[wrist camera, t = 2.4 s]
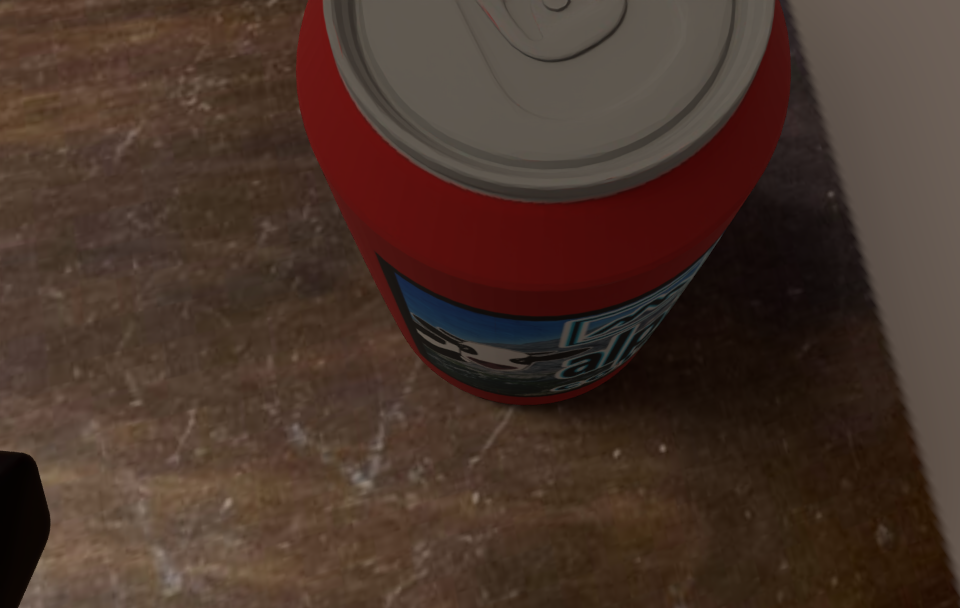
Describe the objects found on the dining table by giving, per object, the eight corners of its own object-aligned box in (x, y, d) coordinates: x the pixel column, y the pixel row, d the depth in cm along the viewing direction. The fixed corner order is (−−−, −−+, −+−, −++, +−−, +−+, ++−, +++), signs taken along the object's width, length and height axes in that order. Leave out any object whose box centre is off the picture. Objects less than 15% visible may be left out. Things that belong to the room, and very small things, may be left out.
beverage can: (486, 467, 21) (465, 370, 9) (338, 242, 22) (159, -84, 11) (716, 312, 22) (962, 43, 10) (558, 104, 23) (612, -334, 12)
